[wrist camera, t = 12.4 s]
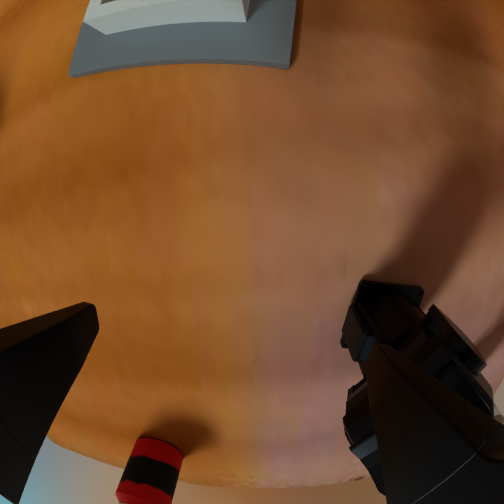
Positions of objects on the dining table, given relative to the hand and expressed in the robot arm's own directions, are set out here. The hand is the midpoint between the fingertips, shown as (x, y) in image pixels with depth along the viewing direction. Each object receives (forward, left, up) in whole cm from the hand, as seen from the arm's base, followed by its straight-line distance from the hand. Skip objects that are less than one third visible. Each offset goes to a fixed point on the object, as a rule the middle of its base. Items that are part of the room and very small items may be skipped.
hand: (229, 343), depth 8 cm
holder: (+8, -21, -13) cm, 26 cm away
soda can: (+10, +35, -13) cm, 39 cm away
